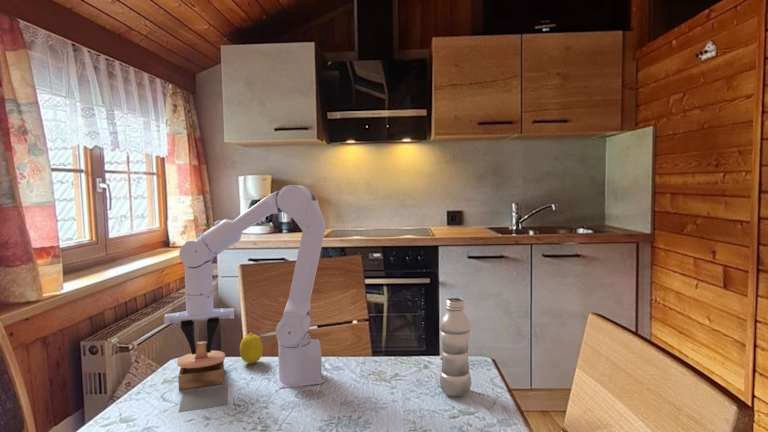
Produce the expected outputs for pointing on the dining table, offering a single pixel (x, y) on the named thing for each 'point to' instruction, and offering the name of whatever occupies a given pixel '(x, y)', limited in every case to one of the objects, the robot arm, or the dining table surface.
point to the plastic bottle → (455, 349)
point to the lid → (201, 357)
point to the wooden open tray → (201, 376)
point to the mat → (204, 399)
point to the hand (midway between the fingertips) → (201, 352)
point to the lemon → (251, 348)
